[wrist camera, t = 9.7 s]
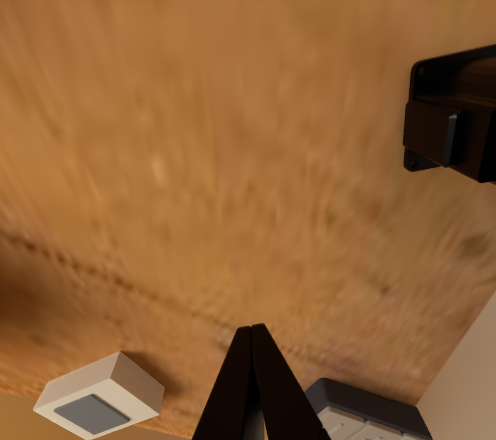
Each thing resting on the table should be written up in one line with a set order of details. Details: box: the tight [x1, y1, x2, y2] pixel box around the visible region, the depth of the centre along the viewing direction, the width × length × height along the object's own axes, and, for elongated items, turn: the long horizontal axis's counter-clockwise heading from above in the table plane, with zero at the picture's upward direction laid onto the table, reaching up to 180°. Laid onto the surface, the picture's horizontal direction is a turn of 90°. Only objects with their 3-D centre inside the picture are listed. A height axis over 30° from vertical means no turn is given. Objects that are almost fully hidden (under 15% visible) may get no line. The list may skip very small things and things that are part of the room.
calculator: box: [304, 378, 433, 440], centre depth 34 cm, size 11×4×15 cm
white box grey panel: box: [33, 351, 165, 440], centre depth 28 cm, size 3×7×9 cm
